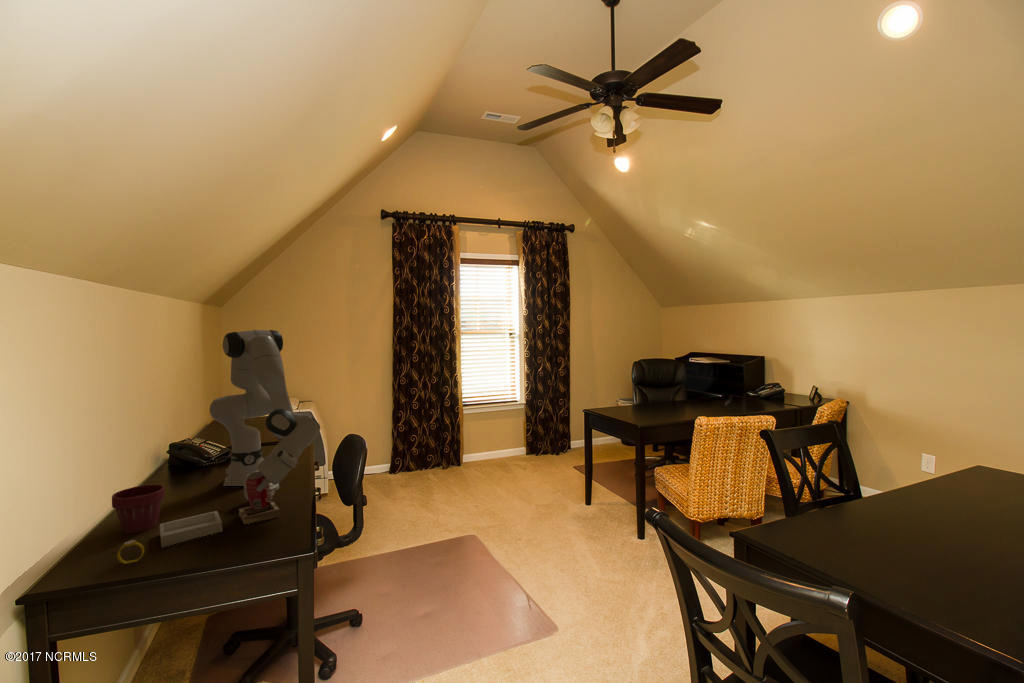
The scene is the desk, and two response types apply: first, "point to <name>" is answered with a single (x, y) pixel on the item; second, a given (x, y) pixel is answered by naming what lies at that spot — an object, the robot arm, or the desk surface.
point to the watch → (126, 544)
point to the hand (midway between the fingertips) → (255, 487)
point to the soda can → (257, 492)
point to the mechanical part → (272, 486)
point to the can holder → (260, 516)
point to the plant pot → (138, 507)
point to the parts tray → (189, 528)
